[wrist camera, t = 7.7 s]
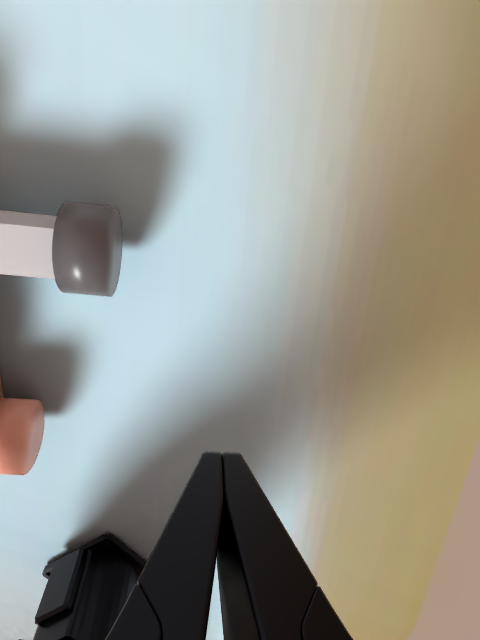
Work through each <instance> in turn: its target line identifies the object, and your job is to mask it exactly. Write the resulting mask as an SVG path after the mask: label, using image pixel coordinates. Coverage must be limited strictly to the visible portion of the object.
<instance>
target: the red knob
mask: <svg viewBox="0 0 480 640" xmlns="http://www.w3.org/2000/svg"><path fill="white" fill-rule="evenodd" d="M43 431H44V410H43V406H42V404H41V402H40V401H39V400H34V399H17V398H0V474H9V475H25V474H27V473H28V472H29V471H30V469H31V468H32V466H33V465H34V463H35V461H36V458H37V456H38V453H39V450H40V446H41V442H42V438H43Z"/></svg>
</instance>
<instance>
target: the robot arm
mask: <svg viewBox="0 0 480 640" xmlns="http://www.w3.org/2000/svg"><path fill="white" fill-rule="evenodd" d="M216 557H217V569H218V580H219V591H220V602H221V613H222V624H223V635H224V640H353V638H352V637H351V636H350V634H349V633H348V631H347V630H346V628H345V627H344V625H343V623H342V622H341V620H340V619H339V617H338V615H337V614H336V612H335V611H334V609H333V608H332V606H331V604H330V603H329V601H328V599H327V598H326V596H325V594H324V593H323V591H322V589H321V587H319V586H317V584H318V583H317V581H316V579H315V578H314V576H313V574H312V573H311V571H310V569H309V568H308V566H307V564H306V563H305V561H304V559H303V558H302V556H301V554H300V553H299V551H298V549H297V547H296V546H295V544H294V542H293V541H292V539H291V537H290V536H289V534H288V532H287V531H286V529H285V527H284V526H283V524H282V522H281V521H280V519H279V517H278V516H277V514H276V512H275V511H274V509H273V507H272V506H271V504H270V502H269V501H268V499H267V497H266V495H265V494H264V492H263V490H262V489H261V487H260V485H259V484H258V482H257V480H256V479H255V477H254V475H253V474H252V472H251V470H250V469H249V467H248V465H247V464H246V462H245V460H244V459H243V457H242V455H241V454H240V453H234V452H224V453H223V454H221V453H220V452H211V451H205V452H204V453H203V454H202V456H201V457H200V459H199V461H198V463H197V465H196V467H195V469H194V471H193V473H192V475H191V477H190V479H189V481H188V483H187V485H186V487H185V489H184V491H183V493H182V495H181V497H180V498H179V500H178V502H177V504H176V506H175V508H174V510H173V512H172V514H171V516H170V518H169V520H168V522H167V524H166V526H165V528H164V530H163V532H162V534H161V536H160V538H159V539H158V541H157V543H156V545H155V547H154V549H153V551H152V553H151V555H150V557H149V559H148V561H147V562H146V561H144V560H143V559H142V558H141V557H139V556H138V555H137V554H136V553H134V552H133V551H132V550H131V549H129V548H128V547H127V546H126V545H124V544H123V543H122V542H121V541H119V540H118V539H117V538H116V537H114V536H113V535H111V534H105V535H103V536H101V537H99V538H97V539H95V540H93V541H91V542H89V543H88V544H86V545H84V546H82V547H80V548H78V549H76V550H75V551H73V552H71V553H69V554H67V555H65V556H63V557H61V558H60V559H58V560H56V561H54V562H52V563H50V564H48V565H47V566H45V568H44V571H43V573H42V574H43V576H44V577H45V578H47V579H48V582H47V585H46V588H45V591H44V594H43V597H42V600H41V602H40V605H39V608H38V611H37V614H36V617H35V624H37V625H38V627H37V630H36V633H35V636H34V639H33V640H205V639H206V632H207V624H208V617H209V610H210V602H211V595H212V587H213V580H214V572H215V565H216ZM19 640H21V639H19Z"/></svg>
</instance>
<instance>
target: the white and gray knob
mask: <svg viewBox="0 0 480 640" xmlns="http://www.w3.org/2000/svg"><path fill="white" fill-rule="evenodd" d="M121 257H122V225H121V218H120V213H119V210H118V209H117V207H113V206H103V205H94V204H85V203H76V202H65V203H63V205H62V206H61V207H60V209H59V211H58V214H57V216H51V215H42V214H32V213H23V212H14V211H4V210H0V274H5V275H16V276H27V277H38V278H49V279H55V280H56V283H57V286H58V288H59V289H60V290H61V291H62V292H64V293H75V294H86V295H98V296H109V297H111V296H112V295H113V294H114V292H115V290H116V287H117V284H118V279H119V274H120V267H121Z"/></svg>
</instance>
